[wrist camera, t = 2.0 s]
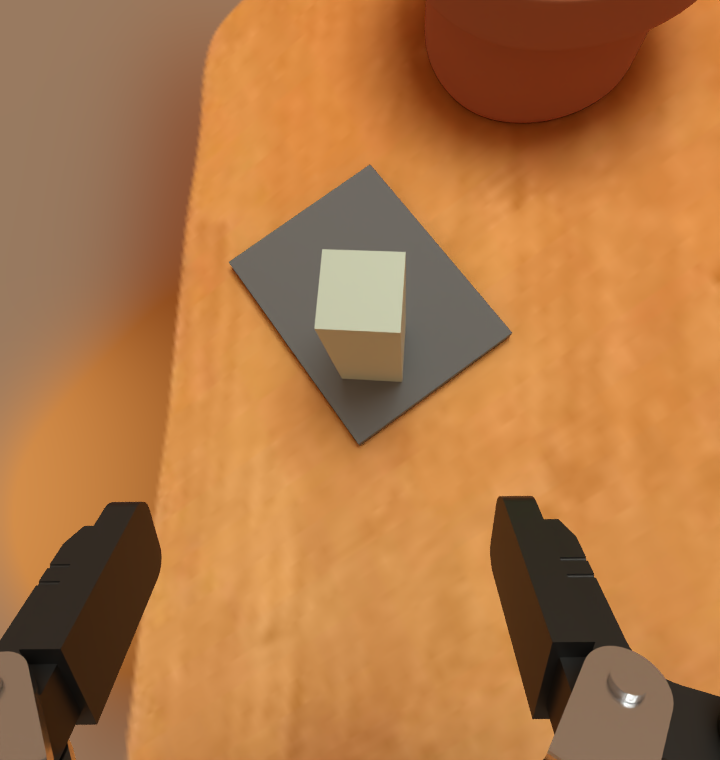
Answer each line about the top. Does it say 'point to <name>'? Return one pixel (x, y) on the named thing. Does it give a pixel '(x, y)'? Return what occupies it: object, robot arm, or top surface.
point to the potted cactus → (537, 51)
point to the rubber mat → (423, 299)
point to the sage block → (363, 312)
